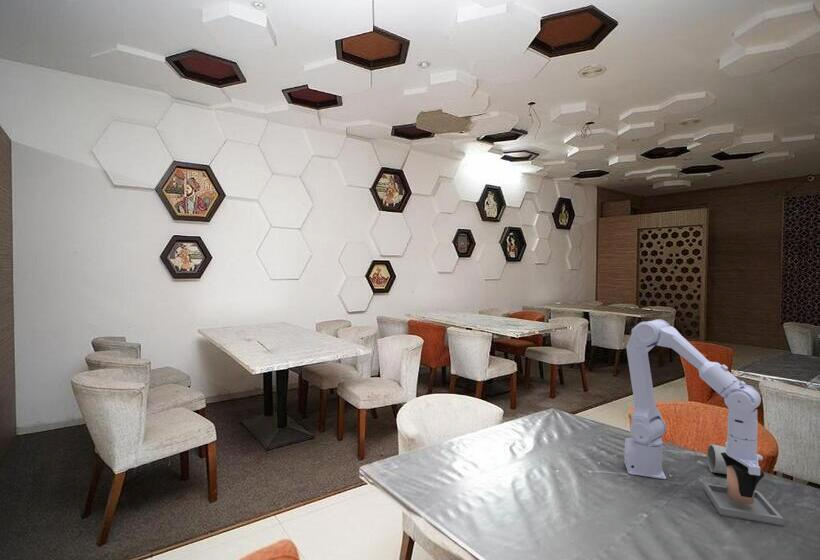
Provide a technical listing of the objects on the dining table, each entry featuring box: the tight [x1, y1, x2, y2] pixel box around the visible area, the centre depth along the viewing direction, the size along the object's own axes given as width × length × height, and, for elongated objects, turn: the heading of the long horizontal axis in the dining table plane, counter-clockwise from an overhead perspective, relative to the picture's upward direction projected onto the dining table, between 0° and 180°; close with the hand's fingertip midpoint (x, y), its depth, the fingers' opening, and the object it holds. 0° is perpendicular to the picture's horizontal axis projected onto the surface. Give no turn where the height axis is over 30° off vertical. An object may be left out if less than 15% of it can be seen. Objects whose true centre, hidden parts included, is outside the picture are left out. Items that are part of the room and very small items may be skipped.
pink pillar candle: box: [726, 465, 754, 504], centre depth 100 cm, size 5×5×7 cm
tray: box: [702, 482, 785, 527], centre depth 100 cm, size 12×12×2 cm
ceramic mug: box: [706, 443, 727, 476], centre depth 118 cm, size 11×8×8 cm
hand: (740, 490), depth 100 cm, fingers closed on pink pillar candle, 5 cm apart
